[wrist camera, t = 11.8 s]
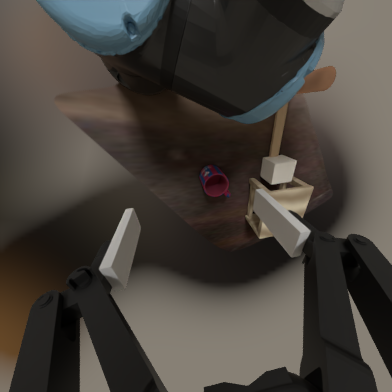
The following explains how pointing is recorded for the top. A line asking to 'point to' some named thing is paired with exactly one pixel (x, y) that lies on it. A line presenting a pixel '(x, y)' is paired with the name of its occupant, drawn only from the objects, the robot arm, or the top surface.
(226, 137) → the top surface
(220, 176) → the mug
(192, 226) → the top surface
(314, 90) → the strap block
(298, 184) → the wooden holder
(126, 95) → the top surface
